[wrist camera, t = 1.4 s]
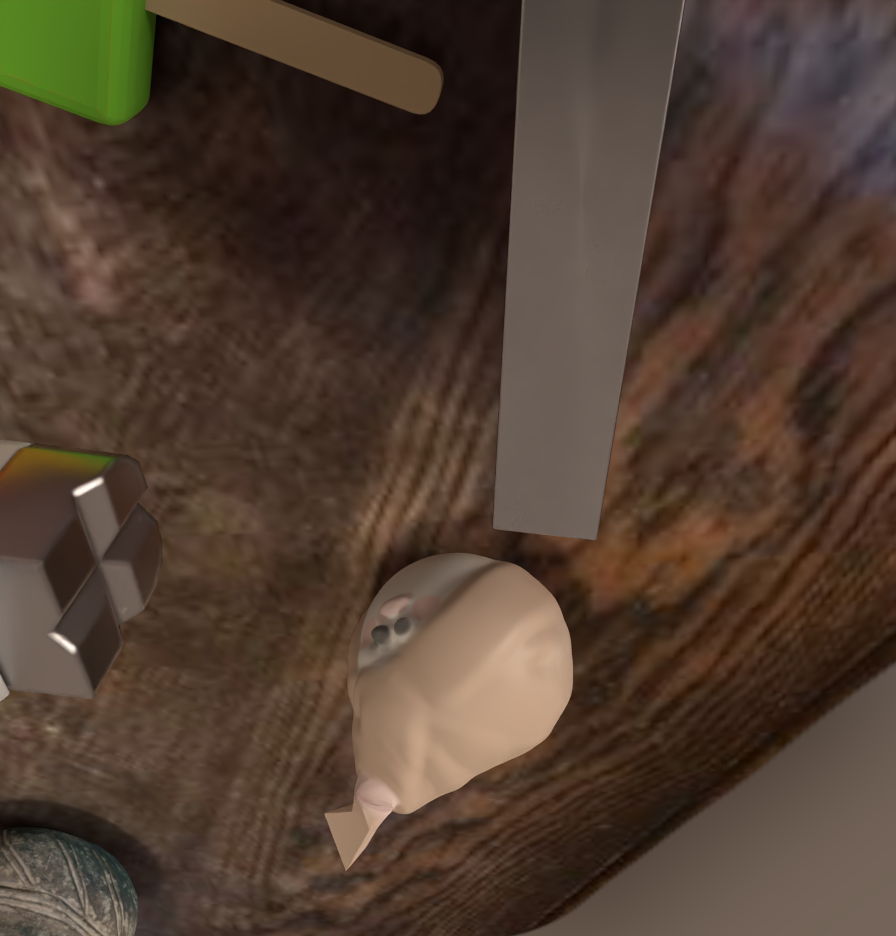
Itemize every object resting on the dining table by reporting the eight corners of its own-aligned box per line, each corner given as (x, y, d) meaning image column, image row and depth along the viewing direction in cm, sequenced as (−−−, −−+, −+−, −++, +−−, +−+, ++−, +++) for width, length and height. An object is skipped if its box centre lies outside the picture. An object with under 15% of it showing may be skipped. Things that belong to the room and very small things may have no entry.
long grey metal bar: (565, -452, 12) (549, -512, 10) (737, -455, 12) (771, -516, 9) (507, 438, 22) (491, 530, 20) (599, 447, 22) (596, 541, 19)
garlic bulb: (343, 517, 25) (254, 759, 19) (561, 504, 24) (540, 765, 17) (397, 661, 29) (338, 900, 23) (587, 658, 28) (578, 915, 21)
